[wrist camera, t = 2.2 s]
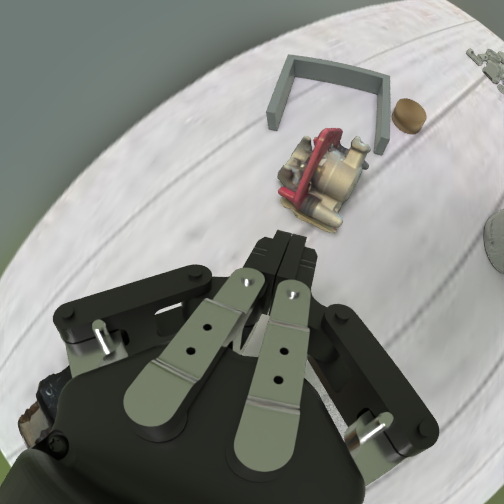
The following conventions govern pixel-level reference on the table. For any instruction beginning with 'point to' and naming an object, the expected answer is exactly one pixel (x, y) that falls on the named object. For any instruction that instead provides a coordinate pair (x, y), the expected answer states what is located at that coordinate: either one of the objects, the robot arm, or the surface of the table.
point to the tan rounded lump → (408, 116)
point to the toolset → (43, 408)
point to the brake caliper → (322, 177)
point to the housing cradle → (336, 75)
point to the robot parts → (491, 65)
